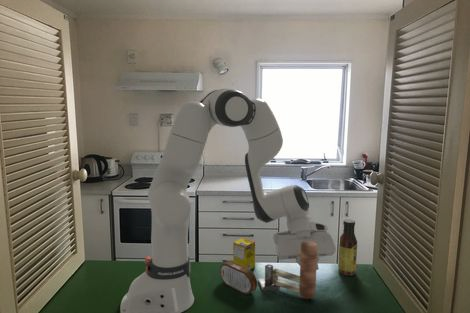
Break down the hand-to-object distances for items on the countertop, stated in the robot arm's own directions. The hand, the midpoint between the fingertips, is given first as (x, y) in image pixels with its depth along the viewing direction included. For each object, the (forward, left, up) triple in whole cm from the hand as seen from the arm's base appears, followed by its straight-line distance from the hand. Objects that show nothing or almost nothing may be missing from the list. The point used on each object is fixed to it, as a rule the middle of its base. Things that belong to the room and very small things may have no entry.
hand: (310, 270), depth 113 cm
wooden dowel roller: (-6, 0, -7) cm, 9 cm away
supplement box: (-18, +20, -8) cm, 28 cm away
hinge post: (-12, +7, -8) cm, 16 cm away
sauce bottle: (+19, +11, -8) cm, 23 cm away
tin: (-23, +7, -8) cm, 25 cm away
